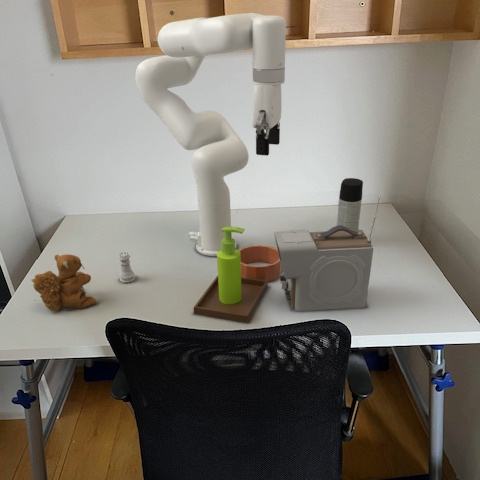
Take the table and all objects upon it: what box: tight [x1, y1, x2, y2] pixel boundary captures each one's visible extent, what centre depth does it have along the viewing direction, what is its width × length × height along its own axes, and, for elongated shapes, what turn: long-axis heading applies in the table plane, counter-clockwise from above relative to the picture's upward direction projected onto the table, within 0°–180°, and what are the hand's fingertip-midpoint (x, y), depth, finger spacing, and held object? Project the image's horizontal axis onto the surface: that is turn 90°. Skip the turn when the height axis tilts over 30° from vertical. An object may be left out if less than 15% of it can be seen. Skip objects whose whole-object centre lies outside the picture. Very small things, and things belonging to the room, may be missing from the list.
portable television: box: [273, 195, 381, 312], centre depth 131 cm, size 12×24×30 cm, turn 94°
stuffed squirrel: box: [31, 254, 98, 312], centre depth 137 cm, size 10×14×13 cm
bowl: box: [237, 244, 283, 283], centre depth 152 cm, size 13×13×5 cm
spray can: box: [336, 177, 364, 230], centre depth 162 cm, size 7×7×20 cm
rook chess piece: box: [117, 251, 136, 284], centre depth 149 cm, size 4×4×8 cm
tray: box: [193, 275, 269, 324], centre depth 140 cm, size 14×18×2 cm
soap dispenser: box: [216, 226, 245, 304], centre depth 135 cm, size 6×7×20 cm
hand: (268, 149), depth 136 cm, fingers open, 9 cm apart
